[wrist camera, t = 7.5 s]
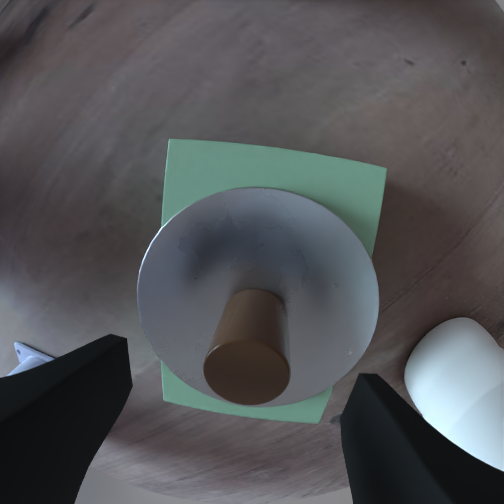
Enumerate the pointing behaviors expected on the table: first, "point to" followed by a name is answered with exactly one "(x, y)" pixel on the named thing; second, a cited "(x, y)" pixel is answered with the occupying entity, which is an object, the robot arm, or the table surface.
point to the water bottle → (461, 387)
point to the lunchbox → (278, 176)
